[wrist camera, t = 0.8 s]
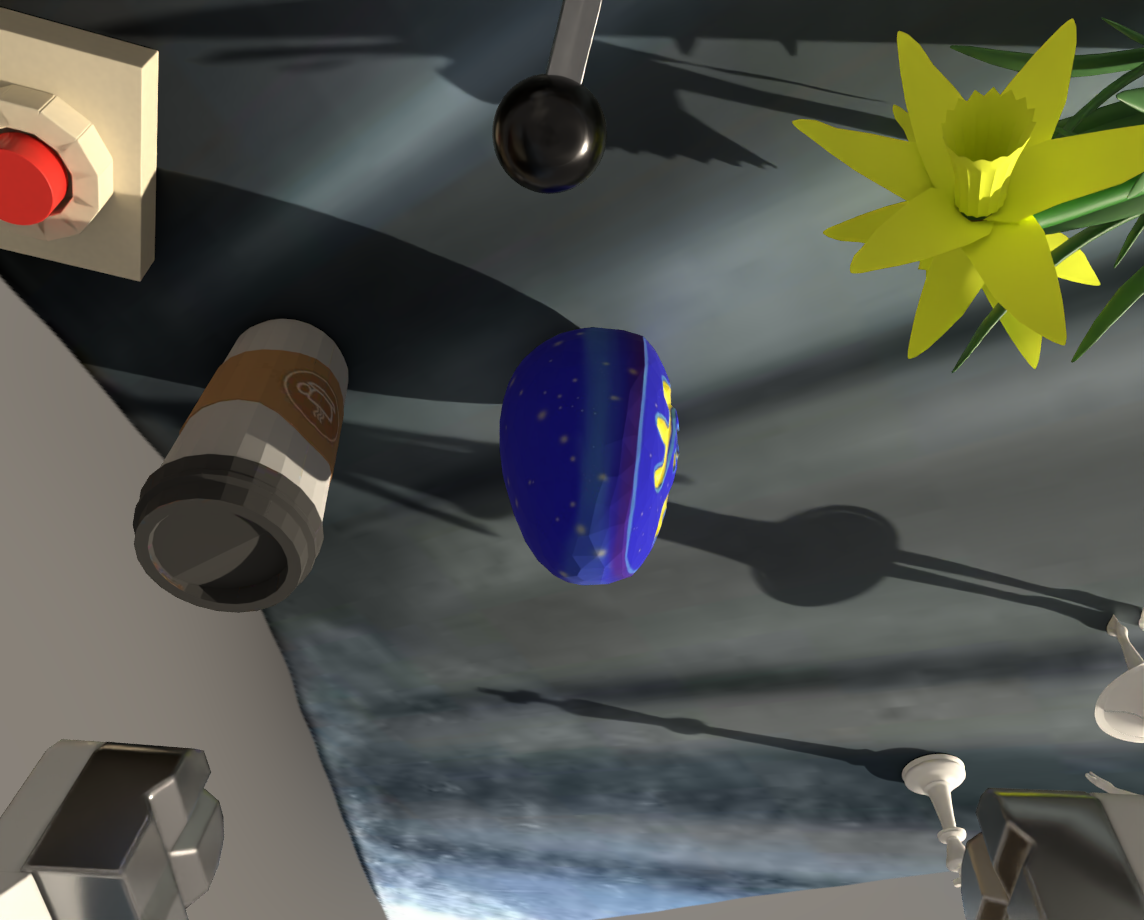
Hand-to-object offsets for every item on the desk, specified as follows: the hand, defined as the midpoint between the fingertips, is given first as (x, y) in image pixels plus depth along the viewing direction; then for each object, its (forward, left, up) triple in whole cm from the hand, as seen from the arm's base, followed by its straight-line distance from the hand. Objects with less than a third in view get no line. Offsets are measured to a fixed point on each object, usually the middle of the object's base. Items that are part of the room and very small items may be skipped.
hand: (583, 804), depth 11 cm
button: (+16, -21, -37) cm, 45 cm away
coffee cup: (+26, -9, -40) cm, 49 cm away
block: (+16, -21, -40) cm, 48 cm away
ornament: (+22, +7, -40) cm, 47 cm away
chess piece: (+52, +45, -40) cm, 80 cm away
